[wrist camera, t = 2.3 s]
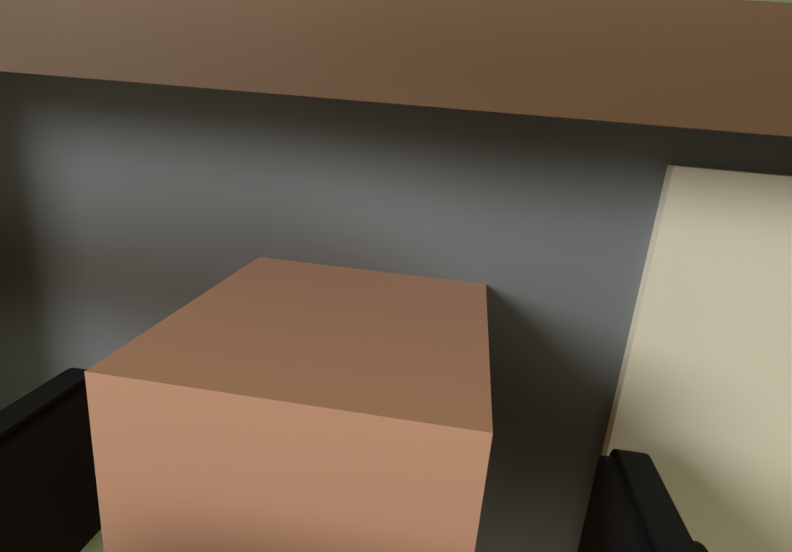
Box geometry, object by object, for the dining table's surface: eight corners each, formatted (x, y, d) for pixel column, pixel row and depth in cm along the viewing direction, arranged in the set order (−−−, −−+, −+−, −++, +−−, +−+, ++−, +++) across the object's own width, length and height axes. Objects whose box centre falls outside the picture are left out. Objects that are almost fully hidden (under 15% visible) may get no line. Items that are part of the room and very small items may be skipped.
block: (258, 256, 11) (84, 371, 6) (486, 283, 10) (492, 433, 5) (258, 538, 13) (129, 788, 8) (446, 572, 12) (426, 861, 8)
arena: (-135, -14, 11) (-361, -61, 8) (1443, 87, 8) (2026, 70, 5) (-35, 493, 14) (-163, 589, 11) (1058, 695, 11) (1255, 892, 8)
